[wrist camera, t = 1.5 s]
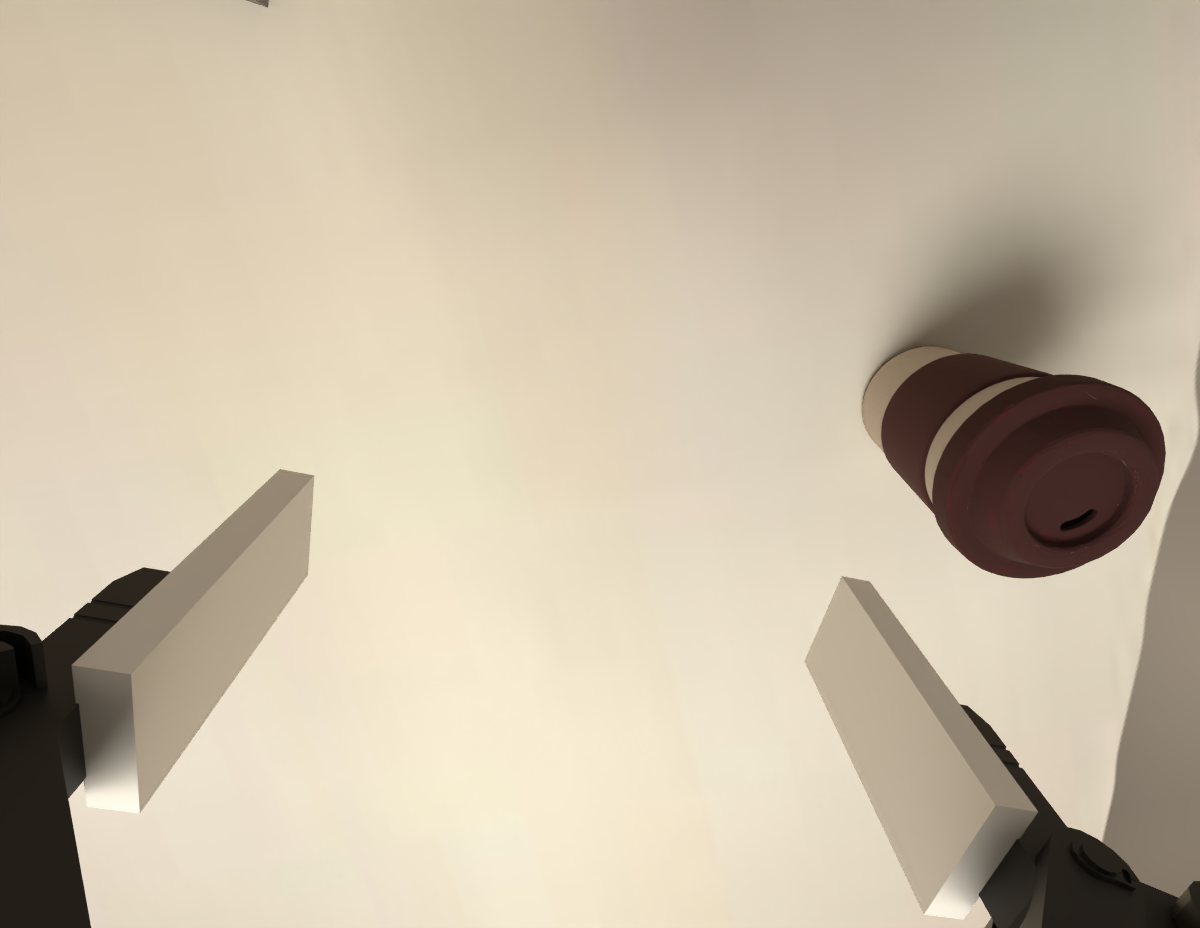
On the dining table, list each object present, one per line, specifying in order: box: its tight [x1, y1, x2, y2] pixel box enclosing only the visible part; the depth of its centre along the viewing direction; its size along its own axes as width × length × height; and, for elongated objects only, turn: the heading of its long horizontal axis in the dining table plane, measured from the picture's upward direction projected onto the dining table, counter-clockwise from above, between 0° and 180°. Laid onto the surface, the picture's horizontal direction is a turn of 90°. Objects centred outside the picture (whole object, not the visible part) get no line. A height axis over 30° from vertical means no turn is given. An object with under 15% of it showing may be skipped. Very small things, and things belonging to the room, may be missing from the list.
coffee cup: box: [862, 346, 1166, 578], centre depth 35 cm, size 10×10×15 cm
